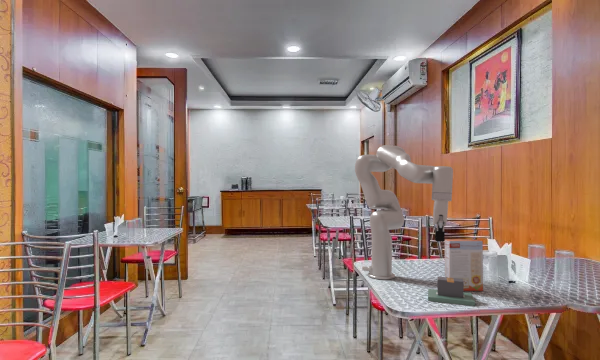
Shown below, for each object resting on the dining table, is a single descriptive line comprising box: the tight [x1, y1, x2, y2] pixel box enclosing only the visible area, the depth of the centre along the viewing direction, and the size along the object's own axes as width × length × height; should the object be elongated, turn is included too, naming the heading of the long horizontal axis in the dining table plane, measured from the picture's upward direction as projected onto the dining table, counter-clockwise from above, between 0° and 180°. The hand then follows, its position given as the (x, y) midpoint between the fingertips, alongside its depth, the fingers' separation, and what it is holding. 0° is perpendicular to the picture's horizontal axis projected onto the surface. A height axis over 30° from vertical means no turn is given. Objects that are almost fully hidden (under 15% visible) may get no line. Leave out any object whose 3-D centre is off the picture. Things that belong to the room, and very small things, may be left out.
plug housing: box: [436, 276, 465, 298], centre depth 140 cm, size 9×5×6 cm, turn 71°
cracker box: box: [444, 238, 484, 292], centre depth 154 cm, size 14×6×21 cm, turn 89°
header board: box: [427, 288, 476, 307], centre depth 140 cm, size 16×12×6 cm
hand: (439, 239), depth 147 cm, fingers open, 9 cm apart
